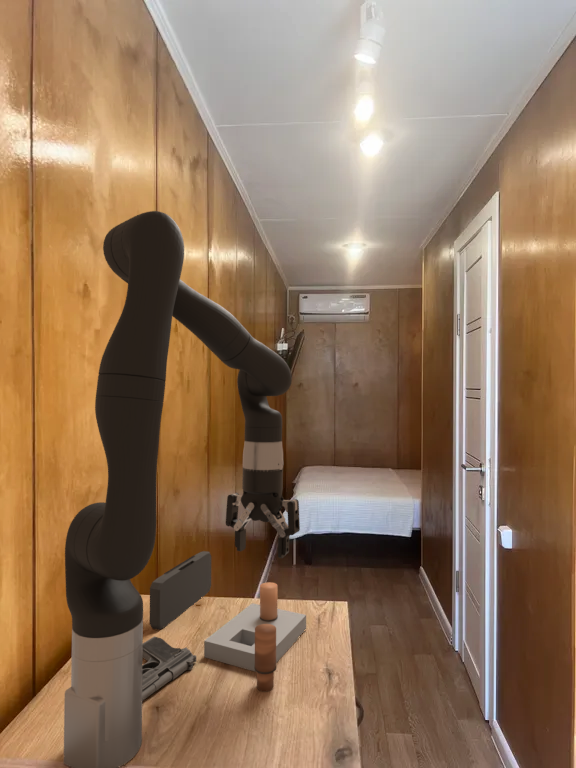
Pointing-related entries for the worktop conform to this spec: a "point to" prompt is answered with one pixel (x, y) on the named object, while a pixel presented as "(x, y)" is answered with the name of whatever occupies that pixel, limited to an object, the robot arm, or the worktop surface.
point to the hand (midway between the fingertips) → (261, 553)
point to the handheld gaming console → (179, 589)
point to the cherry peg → (265, 656)
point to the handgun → (163, 664)
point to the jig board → (239, 633)
